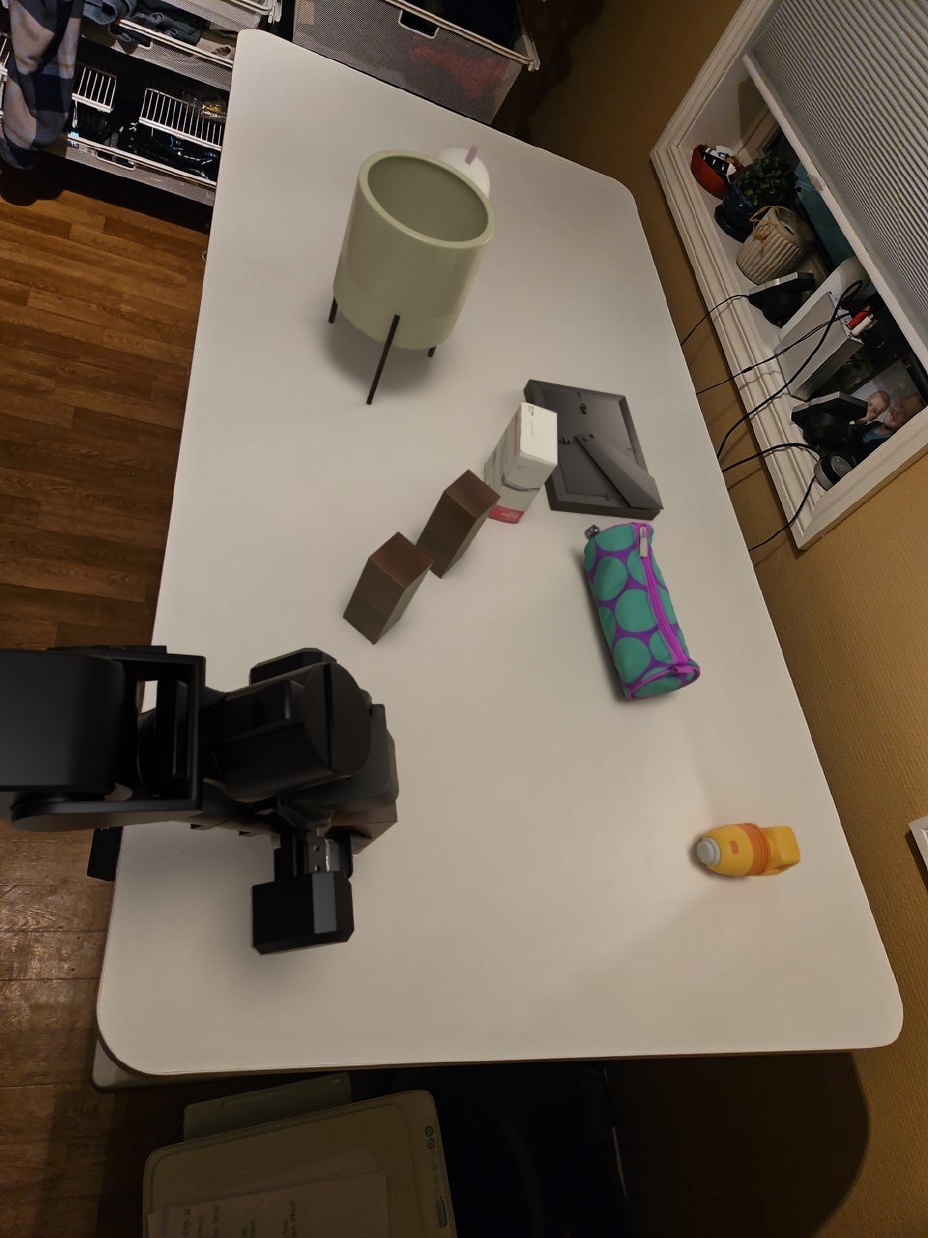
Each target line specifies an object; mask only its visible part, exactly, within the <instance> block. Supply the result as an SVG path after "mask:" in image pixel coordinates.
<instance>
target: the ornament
mask: <svg viewBox="0 0 928 1238" xmlns="http://www.w3.org/2000/svg"><path fill="white" fill-rule="evenodd" d="M478 148H479V147H478V146H476V145H474V144H472V145H471V146H470V147H469V150H468V149H466V148H463V147H458V146H457V147H448V148H445V149H442V150H441V151H439V152H437V153H436V154H435V155H434V156H432V157H433V158H436V159H438V160H440V161H442V162H444V163H446V164H448V165H450V166H452V167H454V168H455V169H457V170H458V171H460V172H461V173H463V174H464V175H465V176H467V177H468V178H469V179H470V180H472V181H473V182H474V183H475V184H476V185H477V186H478V187H479V188H480V189H481V191H482V192H483V193H484V194H485V195H486V197H487V198H488V199H489V197H490V194H491V193H490V192H491V180H490V179H491V178H490V175H489V172H488V169H487V167H486V165H485V163H484V162H483V160H482V159H481V158H480V157H479V156H477V152H478Z"/></svg>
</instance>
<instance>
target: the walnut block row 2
mask: <svg viewBox="0 0 928 1238" xmlns="http://www.w3.org/2000/svg"><path fill="white" fill-rule="evenodd" d="M500 497H501V496H500V495H499V494H497V493H496V492H495V491H494V490H493V489H492V488H490V487H489V486H488V485H487V484H486V483H484V480H482V479H481V478H480V477H479V476H478V475H476V474H475V473H474V472H473V471H472V470H470V469H467V470H466V471H465V472H463V473H462V474H461V475H459V476H458V477H457V478H456V479H455V480H454V481H453V482H452V483H451V484H450V485H448V486H447V487H446V488H445V489H444V490H443V492H442V493H441V495H440V497H439V499H438V501H437V502H436V504H435V507H434V508H433V511H432V512H431V514H430V517H429V518H428V519H427V522H426V524H425V526H424V528H423V530H422V531H421V533H420V535H419V537H418V539H417V541H416V542H415V544H414V545H415V546H416V547H417V548H419V549H420V550H421V551H422V552H423V553H424V554H426V555H427V556H428V557H429V558H430V559H431V560H433V561H434V562H433V564H432V566H431V567H430V569H429V571H431V572H432V573H433V574H435V576H437V577H438V578H439V579H442V578H443V577H444V576H445V574H447V573H448V572H449V571H450V570H451V569H452V568H453V567H454V566H455V565H456V564H457V563H458V562H459V561H460V560H461V559H462V558H463V557H464V555H465V554H466V552H467V550H468V549H469V547H470V545H471V544H472V542H473V541H474V539H475V538H476V536H477V535H478V533H479V531H480V530H481V529H482V527H483V525H484V523H485V522H486V521H487V519H488V518H489V517H488V516H489V514H490V513H491V511H492V510H493V508H494V507H495V505H496V504H497V502H498V500H499V499H500Z"/></svg>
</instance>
